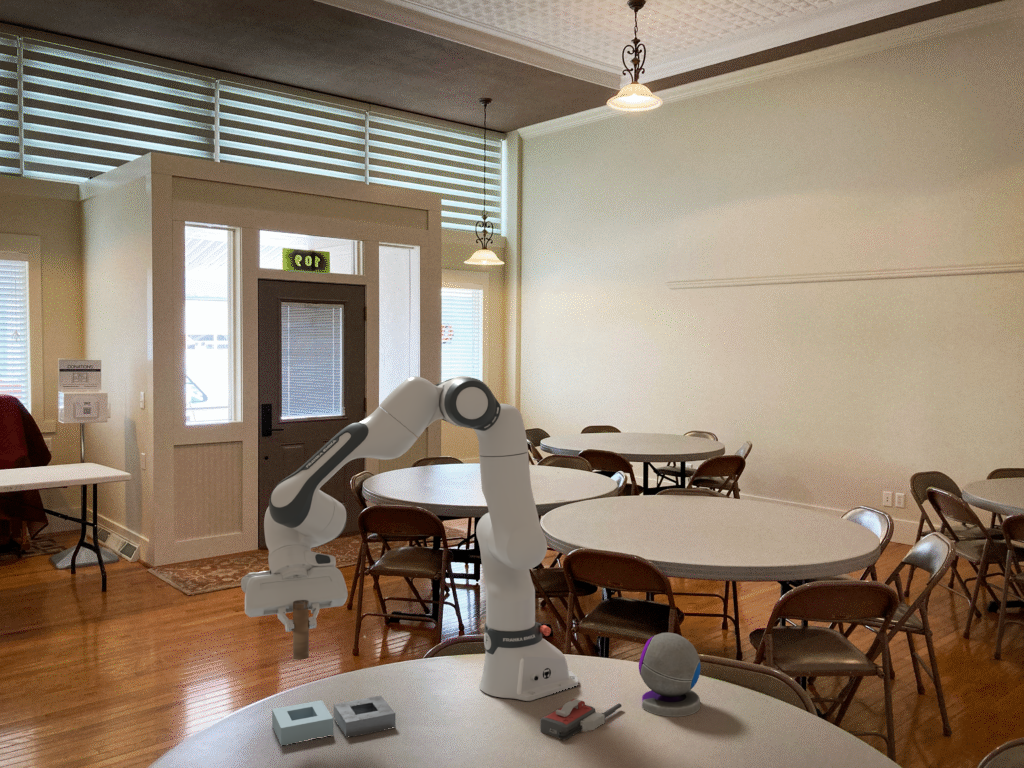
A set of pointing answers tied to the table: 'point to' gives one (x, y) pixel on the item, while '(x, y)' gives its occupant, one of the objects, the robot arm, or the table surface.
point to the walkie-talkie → (573, 719)
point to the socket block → (364, 716)
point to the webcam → (670, 675)
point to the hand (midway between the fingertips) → (301, 628)
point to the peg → (301, 629)
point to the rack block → (302, 722)
